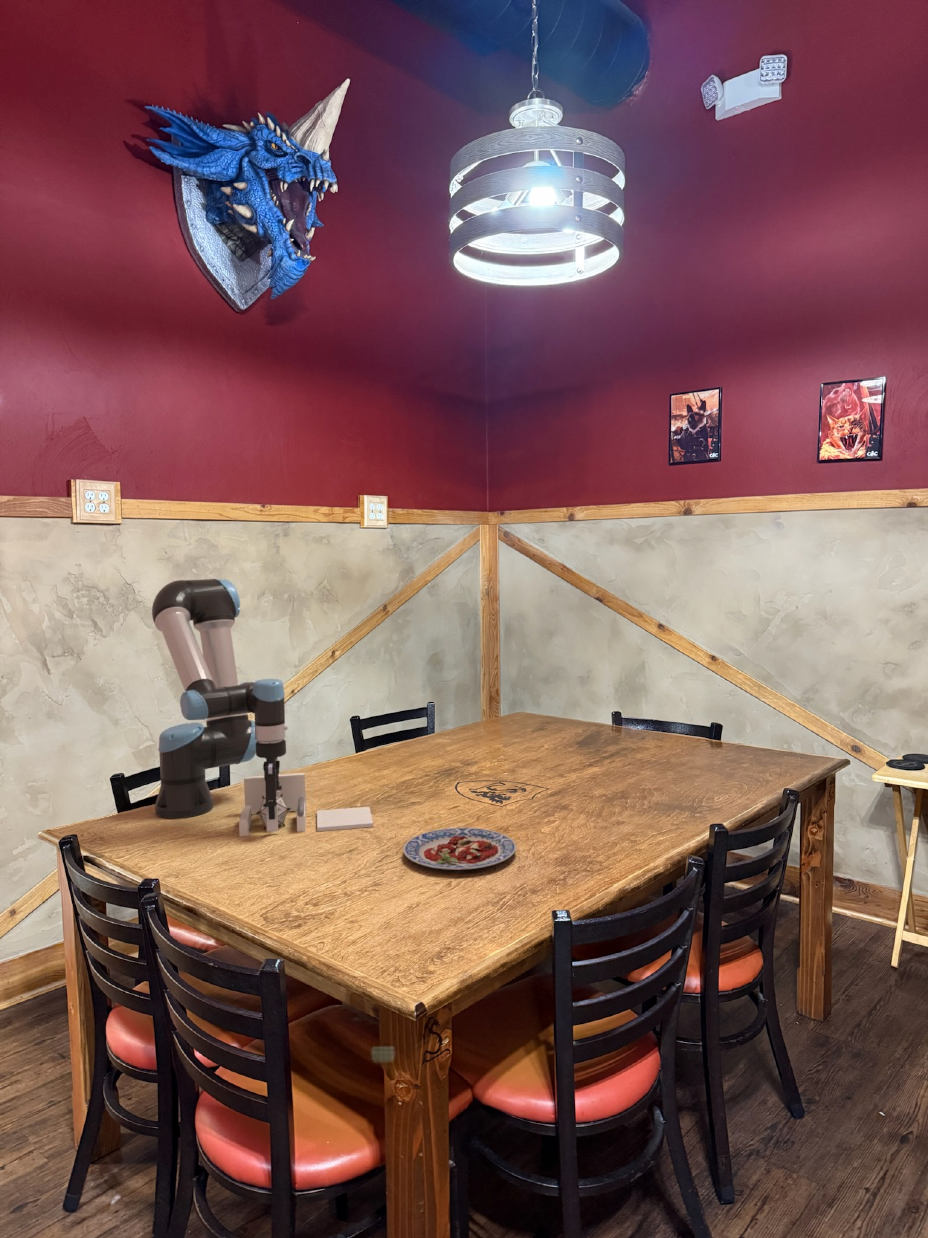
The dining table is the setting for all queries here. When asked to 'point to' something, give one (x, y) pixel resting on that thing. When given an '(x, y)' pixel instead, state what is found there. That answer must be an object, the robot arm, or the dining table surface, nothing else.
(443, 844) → the ceramic plate
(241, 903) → the dining table surface
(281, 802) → the game die
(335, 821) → the mat
